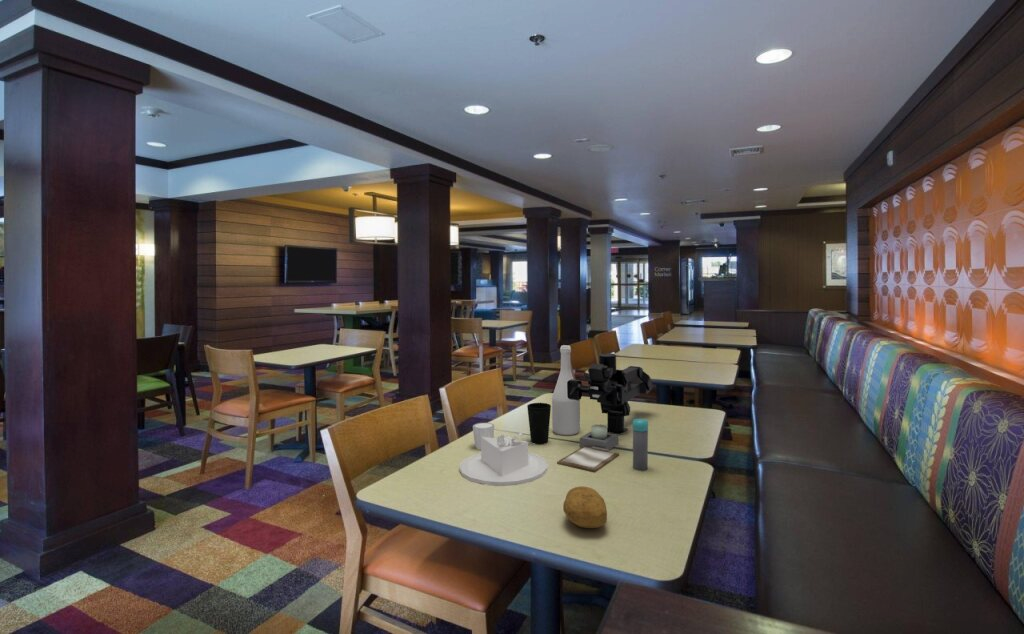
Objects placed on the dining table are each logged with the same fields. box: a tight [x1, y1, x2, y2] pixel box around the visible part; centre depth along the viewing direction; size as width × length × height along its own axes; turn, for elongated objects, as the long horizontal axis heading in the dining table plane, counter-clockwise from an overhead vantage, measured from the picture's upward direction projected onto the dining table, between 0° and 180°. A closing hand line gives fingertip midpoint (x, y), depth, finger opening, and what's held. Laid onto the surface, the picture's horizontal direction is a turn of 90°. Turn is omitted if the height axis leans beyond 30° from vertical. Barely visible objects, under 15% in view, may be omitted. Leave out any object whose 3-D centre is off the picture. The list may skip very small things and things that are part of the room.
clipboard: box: [556, 446, 620, 473], centre depth 151 cm, size 16×12×1 cm
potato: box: [562, 485, 608, 529], centre depth 113 cm, size 9×13×7 cm
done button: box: [590, 424, 608, 440], centre depth 163 cm, size 5×5×4 cm
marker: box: [632, 418, 649, 472], centre depth 143 cm, size 4×4×14 cm
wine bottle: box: [551, 344, 581, 436], centre depth 177 cm, size 10×10×30 cm
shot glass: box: [472, 422, 495, 450], centre depth 164 cm, size 7×7×7 cm
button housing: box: [579, 431, 619, 451], centre depth 163 cm, size 9×9×3 cm
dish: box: [458, 432, 548, 487], centre depth 145 cm, size 25×25×11 cm
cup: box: [526, 402, 552, 445], centre depth 168 cm, size 8×8×12 cm
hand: (583, 398), depth 156 cm, fingers open, 9 cm apart
